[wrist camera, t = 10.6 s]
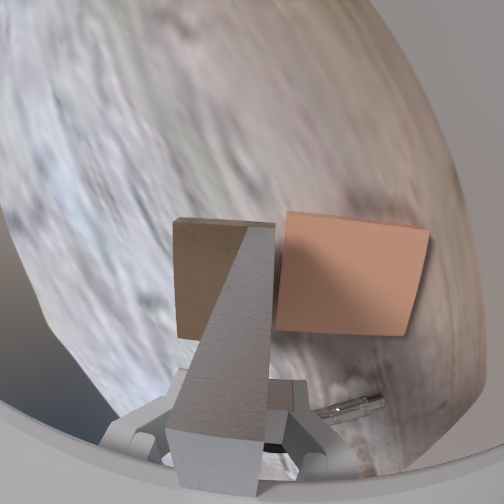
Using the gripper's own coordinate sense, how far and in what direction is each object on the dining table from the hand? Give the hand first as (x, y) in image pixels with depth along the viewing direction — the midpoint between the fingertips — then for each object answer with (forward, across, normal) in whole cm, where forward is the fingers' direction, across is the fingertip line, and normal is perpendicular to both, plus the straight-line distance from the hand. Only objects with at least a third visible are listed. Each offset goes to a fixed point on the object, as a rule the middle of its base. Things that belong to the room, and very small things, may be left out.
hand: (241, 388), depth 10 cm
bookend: (+10, +2, 0) cm, 10 cm away
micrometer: (+14, -7, +18) cm, 24 cm away
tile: (+13, -2, 0) cm, 13 cm away
